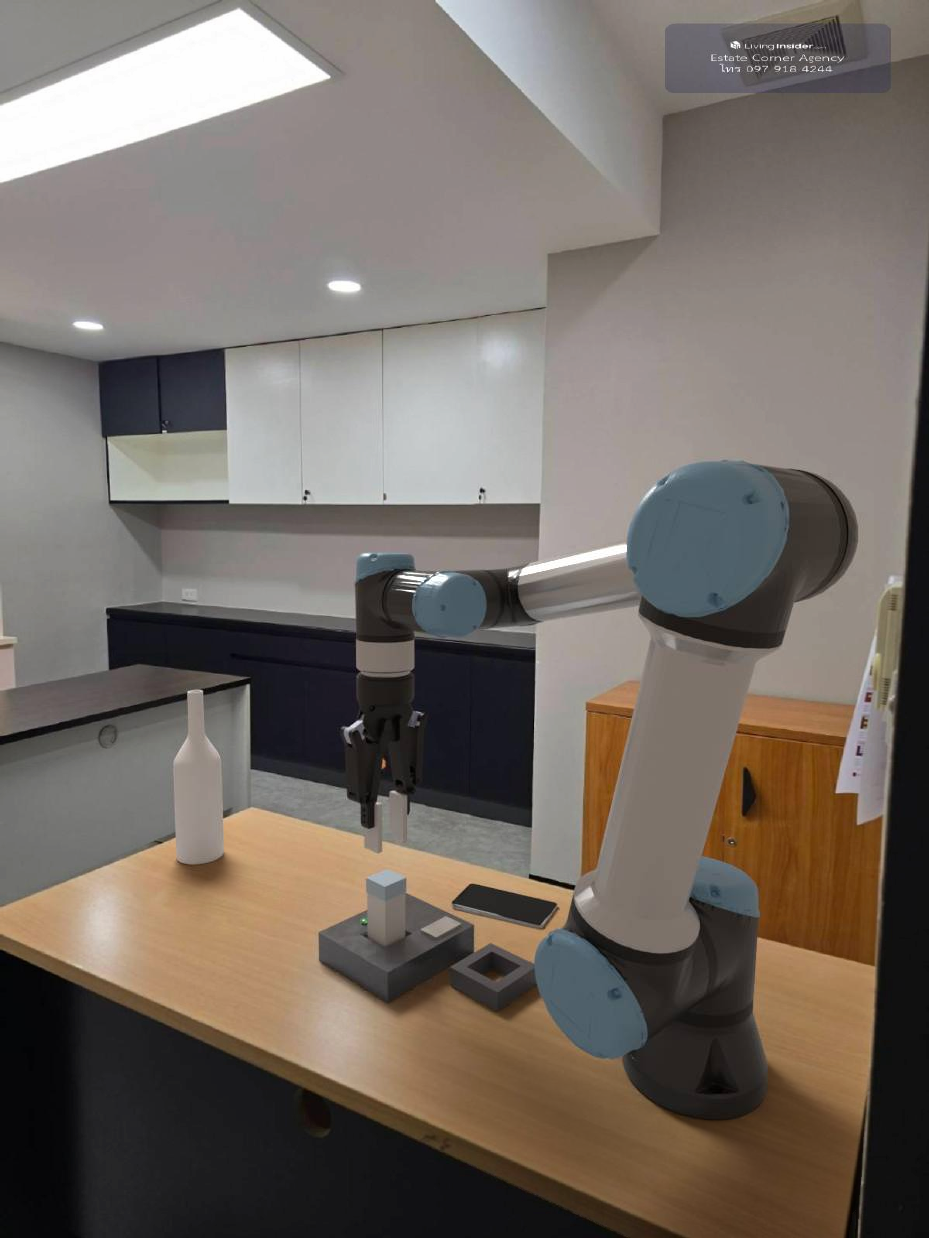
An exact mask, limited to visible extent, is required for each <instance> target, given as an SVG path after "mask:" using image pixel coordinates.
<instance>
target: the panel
mask: <svg viewBox="0 0 929 1238" xmlns="http://www.w3.org/2000/svg"><path fill="white" fill-rule="evenodd" d="M474 952H475V924H474V923H472V922H470V921H466V920H465V919H463V918H460V916H459V917H458V916H456V915H454V914H452V913H450V912H448V911H445V910H443V909H441V908H439V907H437V906H435V905H433V904H431V903H429V902H428V901H427V902H426V901H425V900H423V899H420V898H418V897H416V896H414V895H412V894H409V893H407V892H405V938H403V939H401V940H399V941H397V942H395V943H393V944H392V945H390V946H388V947H386V948H384V947H382V946H380V945H378V944H376V943H375V942H373V941H371V940H369V939H368V931H367V909H366V910H364V911H362V912H359V913H357V914H355V915H353V916H351V917H349V918H347V919H344V920H342V921H340V922H338V923H335V924H333V925H331V926H329V927H326V928H325V929H322V930H320V931H318V961H320V962H321V963H323V964H325V965H326V966H328V967H329V968H331V969H333V970H334V971H336V972H337V973H338V974H341V975H342V976H344V977H345V978H347V979H349V980H350V981H352V982H353V983H355V984H357V985H358V986H360V987H361V988H363V989H365V990H366V991H368V992H369V993H371V994H372V995H375V996H376V997H378V999H381V1000H382V1001H383V1002H385V1003H387V1004H388V1003H389V1004H390V1002H392V1001H394V1000H395V999H397V998H399V997H400V996H403V995H404V994H405V993H408V992H409V991H411V990H412V989H414V988H416V987H417V986H419V985H421V984H422V983H424V982H425V981H428V980H429V979H431V978H433V977H434V976H436V975H438V974H440V973H441V972H443V971H444V970H446V969H448V968H450V967H451V966H452V965H454V964H456V963H458V962H459V961H461V960H463V959H464V958H466V957H468V956H469V955H471V954H473V953H474Z"/></svg>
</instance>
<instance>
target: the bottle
mask: <svg viewBox="0 0 929 1238" xmlns="http://www.w3.org/2000/svg"><path fill="white" fill-rule="evenodd" d="M186 693H187V695H186V697H187V723H188V724H187V726H188V727H187V730H188V731H187V732H188V733H187V736H186V737H187V738H186V739H185V740H184V742H183V744H182V746H181V747H180V749H179V751H178V752H177V754H176V756H175V757H174V760H173V764H172V765H173V766H172V768H173V771H172V772H173V791H174V792H173V803H174V825H175V853H176V860H177V861H178V862H179V863H181V864H185V865H191V866H192V865H194V866H195V865H196V866H197V865H202V864H209V863H212V862H215V861H217V860H219V859H220V858H221V857H222V856H223V855H224V853H225V849H224V848H225V846H224V845H225V843H224V841H225V839H224V835H225V834H224V809H223V805H224V804H223V802H224V801H223V800H224V799H223V776H222V775H223V772H222V771H223V769H222V758H221V756H220V754H219V752H218V750H217V749H216V748H215V747H214V745H213V744H212V742H211V741H210V740H209V738H208V736H207V735H206V732H205V730H206V729H205V714H204V713H205V711H204V710H205V708H204V691H203V690H201V689H192V690H188V691H187V692H186Z"/></svg>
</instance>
